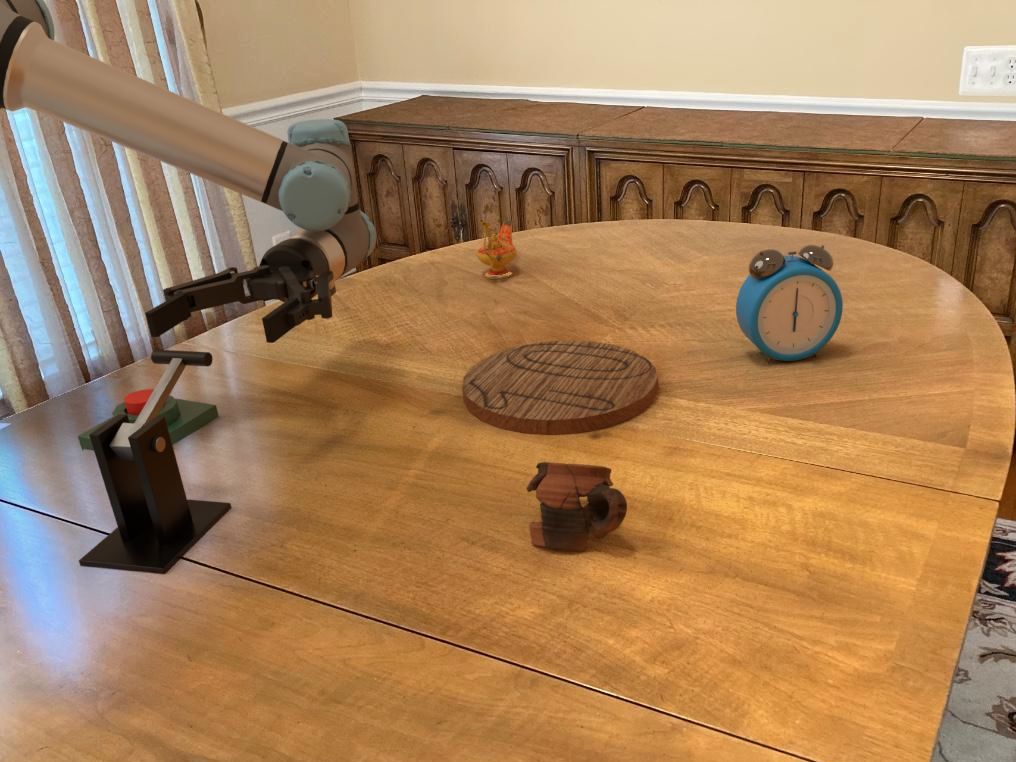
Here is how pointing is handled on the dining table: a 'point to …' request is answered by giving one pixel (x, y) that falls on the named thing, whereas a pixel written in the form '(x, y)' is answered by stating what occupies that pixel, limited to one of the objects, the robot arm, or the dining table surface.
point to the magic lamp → (497, 249)
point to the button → (137, 401)
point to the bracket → (147, 502)
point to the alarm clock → (789, 303)
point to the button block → (168, 419)
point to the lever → (158, 394)
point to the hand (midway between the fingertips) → (208, 328)
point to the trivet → (560, 387)
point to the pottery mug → (574, 505)
